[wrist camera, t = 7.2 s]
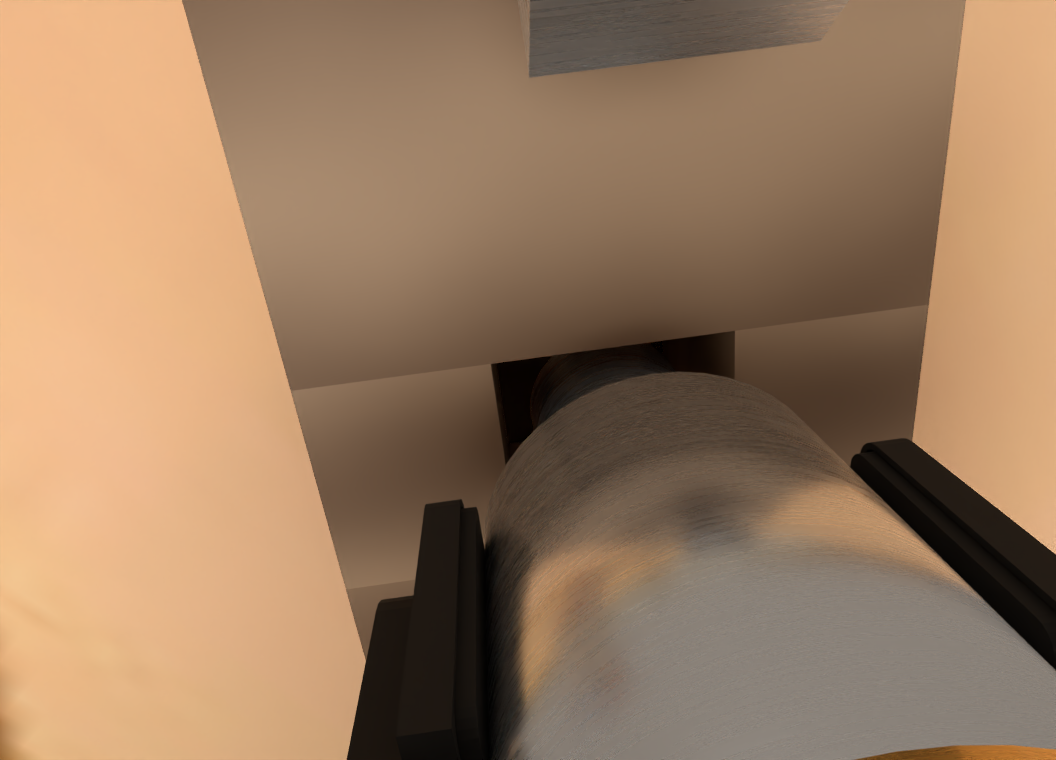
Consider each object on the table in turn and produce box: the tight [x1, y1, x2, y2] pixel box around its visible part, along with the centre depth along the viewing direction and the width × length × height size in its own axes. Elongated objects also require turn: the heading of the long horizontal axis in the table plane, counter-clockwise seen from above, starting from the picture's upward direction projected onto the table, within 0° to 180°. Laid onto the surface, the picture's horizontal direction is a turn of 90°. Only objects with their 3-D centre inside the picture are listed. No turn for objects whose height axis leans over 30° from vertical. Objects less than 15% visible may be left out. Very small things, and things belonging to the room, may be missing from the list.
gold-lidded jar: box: [484, 343, 1056, 760], centre depth 10 cm, size 6×6×12 cm
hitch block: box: [182, 0, 966, 659], centre depth 13 cm, size 22×12×8 cm, turn 7°
